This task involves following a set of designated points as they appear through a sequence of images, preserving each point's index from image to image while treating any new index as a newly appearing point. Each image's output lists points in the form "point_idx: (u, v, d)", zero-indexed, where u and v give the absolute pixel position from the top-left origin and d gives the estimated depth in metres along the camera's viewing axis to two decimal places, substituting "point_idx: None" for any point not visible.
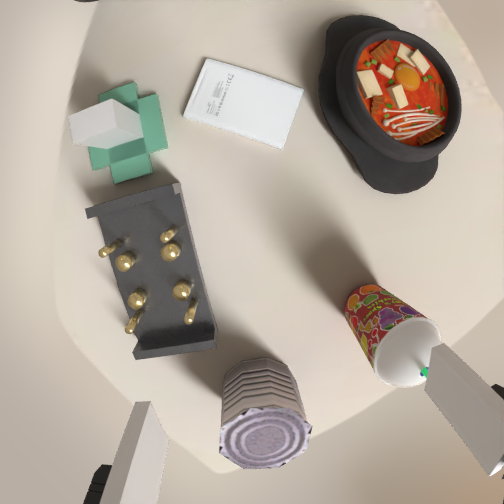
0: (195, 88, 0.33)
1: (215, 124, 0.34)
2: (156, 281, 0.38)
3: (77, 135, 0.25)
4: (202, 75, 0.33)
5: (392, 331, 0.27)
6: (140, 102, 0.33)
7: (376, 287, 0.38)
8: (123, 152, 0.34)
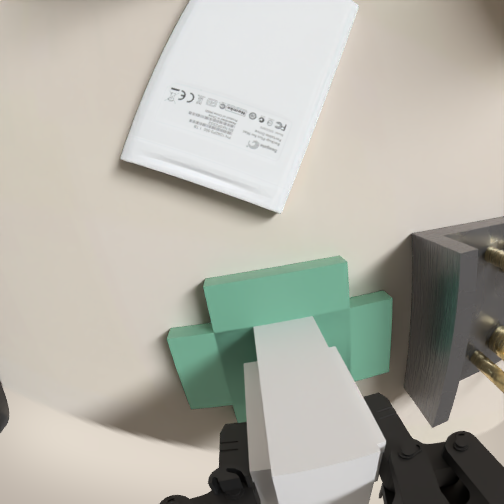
0: (205, 181, 0.14)
1: (308, 132, 0.14)
2: None
3: None
4: (168, 165, 0.14)
5: None
6: (223, 323, 0.15)
7: None
8: None
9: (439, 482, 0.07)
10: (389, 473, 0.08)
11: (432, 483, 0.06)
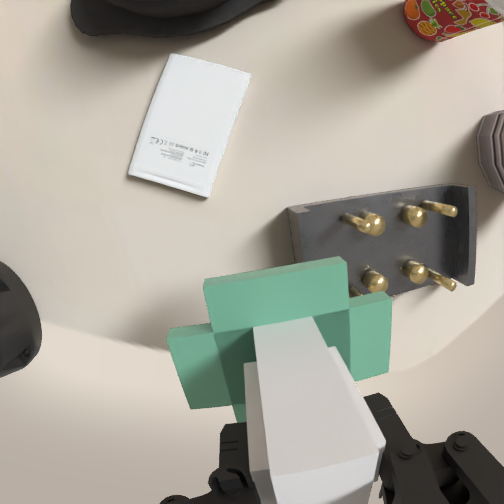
0: (169, 183, 0.28)
1: (220, 155, 0.27)
2: (399, 246, 0.30)
3: None
4: (151, 176, 0.27)
5: None
6: (223, 324, 0.15)
7: (409, 2, 0.22)
8: None
9: (440, 482, 0.07)
10: (389, 473, 0.08)
11: (432, 483, 0.06)
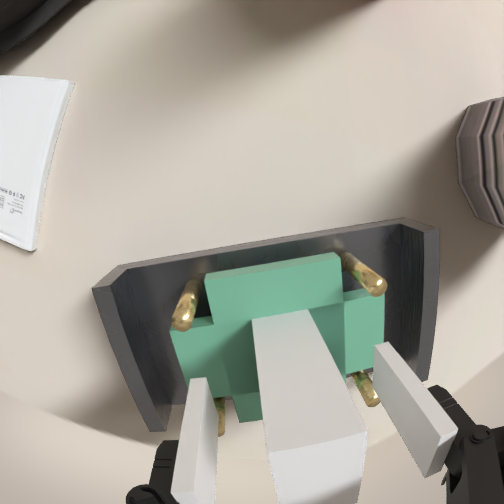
0: None
1: (35, 197, 0.18)
2: None
3: (342, 499, 0.09)
4: None
5: None
6: (223, 316, 0.16)
7: None
8: (330, 350, 0.17)
9: (501, 464, 0.06)
10: (458, 457, 0.07)
11: (495, 469, 0.05)
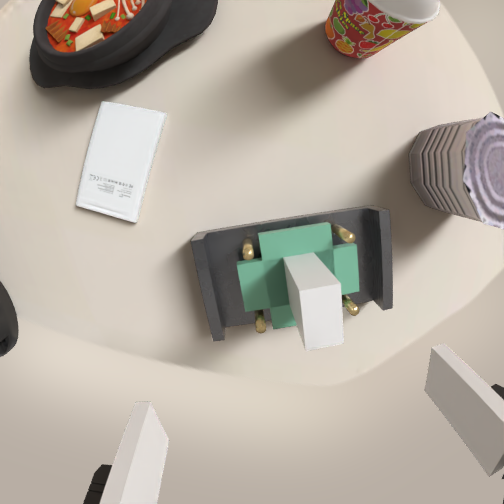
0: (105, 212, 0.32)
1: (142, 186, 0.32)
2: None
3: (335, 337, 0.22)
4: (92, 206, 0.32)
5: None
6: (268, 255, 0.30)
7: (327, 21, 0.26)
8: None
9: None
10: None
11: None
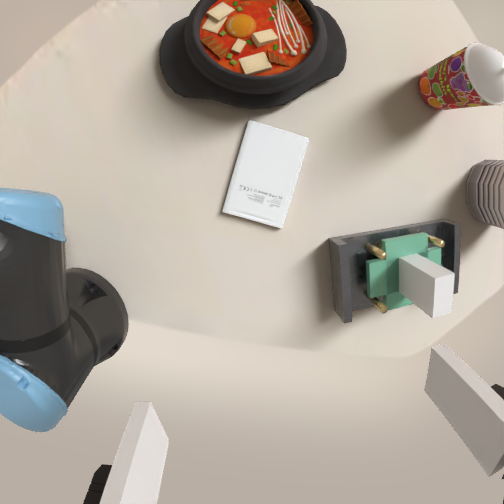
0: (255, 219, 0.40)
1: (290, 198, 0.40)
2: None
3: (448, 308, 0.31)
4: (241, 214, 0.40)
5: (474, 85, 0.25)
6: (389, 256, 0.39)
7: (423, 80, 0.35)
8: None
9: None
10: None
11: None
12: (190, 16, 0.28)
